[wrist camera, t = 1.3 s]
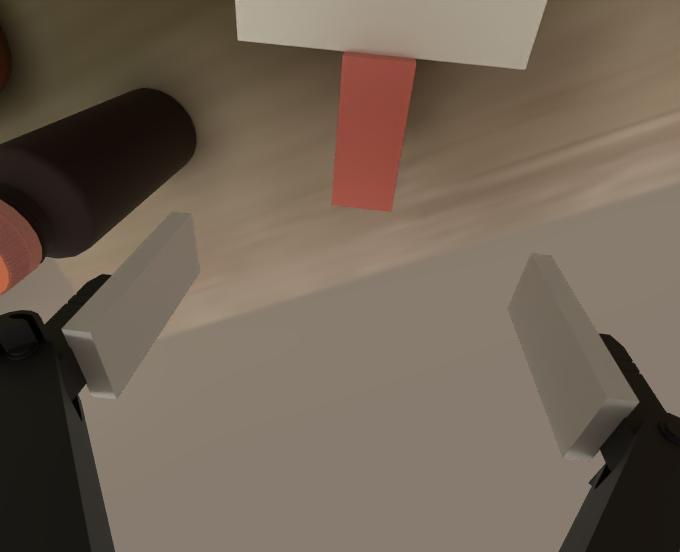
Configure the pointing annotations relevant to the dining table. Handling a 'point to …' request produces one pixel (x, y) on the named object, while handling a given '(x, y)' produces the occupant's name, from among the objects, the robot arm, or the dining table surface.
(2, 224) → the bottle
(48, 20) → the dining table surface
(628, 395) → the robot arm
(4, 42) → the food container
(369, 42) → the lid
